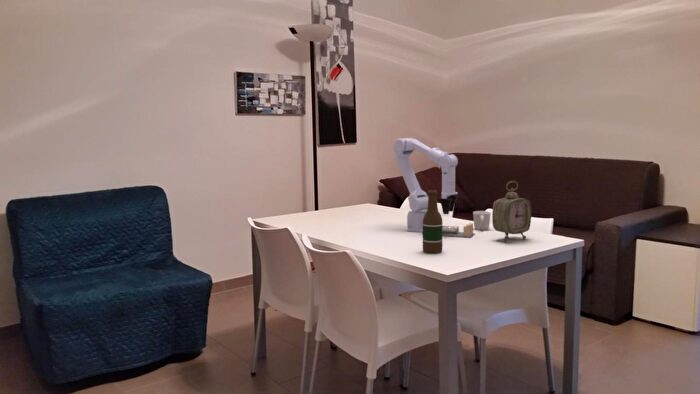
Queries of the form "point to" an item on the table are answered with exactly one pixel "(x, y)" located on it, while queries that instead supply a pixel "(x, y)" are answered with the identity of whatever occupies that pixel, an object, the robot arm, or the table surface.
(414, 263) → the table surface
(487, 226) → the cup
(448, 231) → the tube
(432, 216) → the beer bottle
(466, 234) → the board
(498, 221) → the tabletop clock
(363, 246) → the table surface
